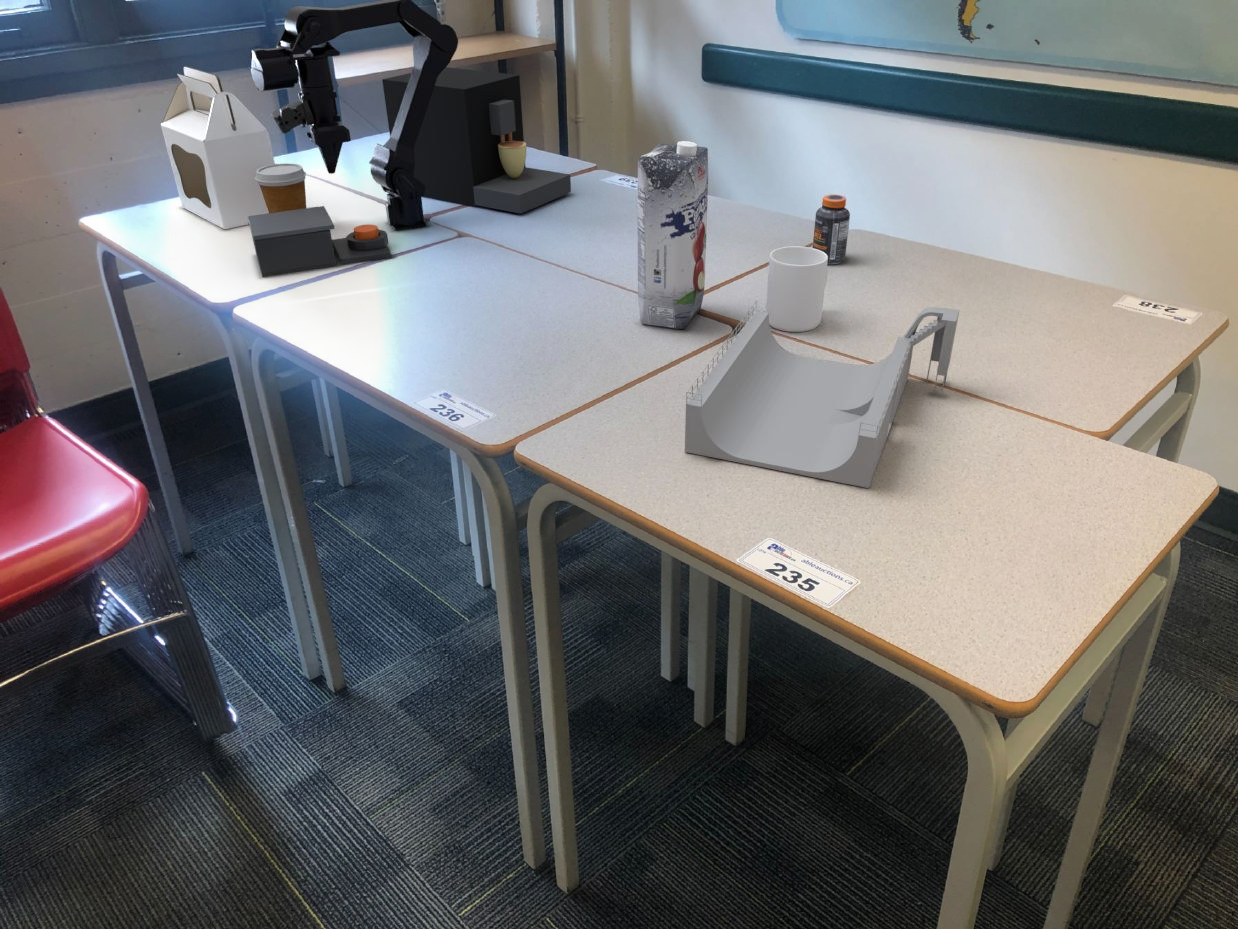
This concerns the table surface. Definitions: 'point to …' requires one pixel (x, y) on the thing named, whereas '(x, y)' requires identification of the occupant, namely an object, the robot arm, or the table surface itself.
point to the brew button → (366, 232)
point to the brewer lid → (290, 222)
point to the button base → (361, 248)
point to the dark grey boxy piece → (295, 253)
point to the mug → (796, 288)
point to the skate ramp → (805, 402)
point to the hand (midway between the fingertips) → (331, 172)
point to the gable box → (215, 151)
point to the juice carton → (672, 233)
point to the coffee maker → (475, 142)
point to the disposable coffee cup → (282, 187)
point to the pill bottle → (832, 228)
